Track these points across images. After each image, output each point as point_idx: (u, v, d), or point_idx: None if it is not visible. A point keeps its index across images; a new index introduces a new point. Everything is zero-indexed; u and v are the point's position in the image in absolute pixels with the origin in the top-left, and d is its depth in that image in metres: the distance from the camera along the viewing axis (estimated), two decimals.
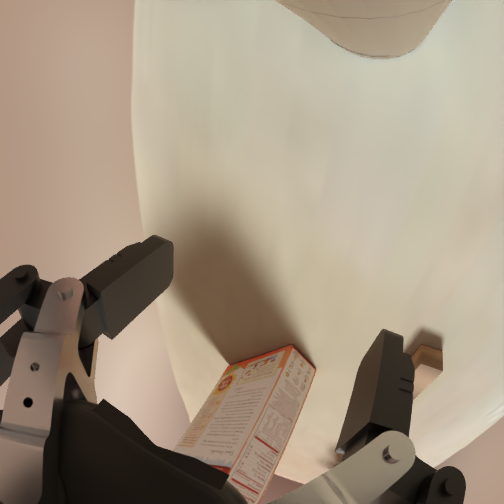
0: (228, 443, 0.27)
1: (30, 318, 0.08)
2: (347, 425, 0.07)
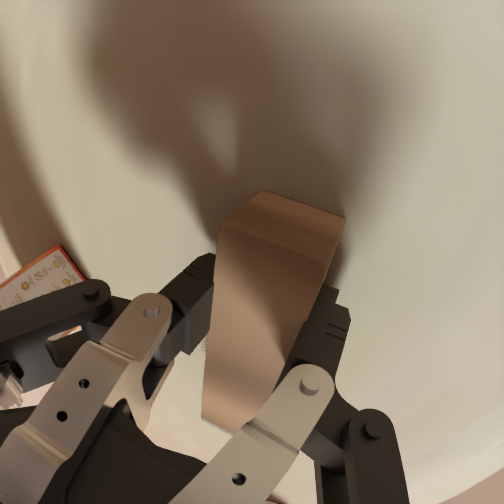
0: None
1: (89, 338, 0.08)
2: None
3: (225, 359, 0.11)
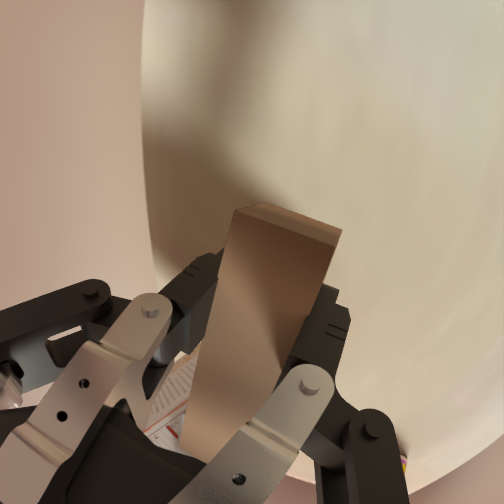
0: None
1: (90, 338, 0.08)
2: None
3: (218, 367, 0.10)
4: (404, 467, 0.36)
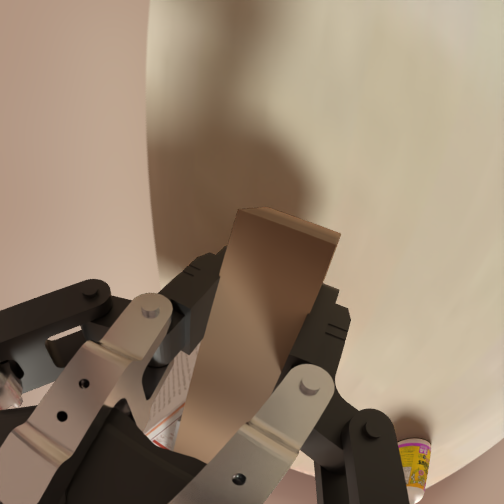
0: None
1: (89, 338, 0.08)
2: None
3: (217, 368, 0.10)
4: (429, 454, 0.32)
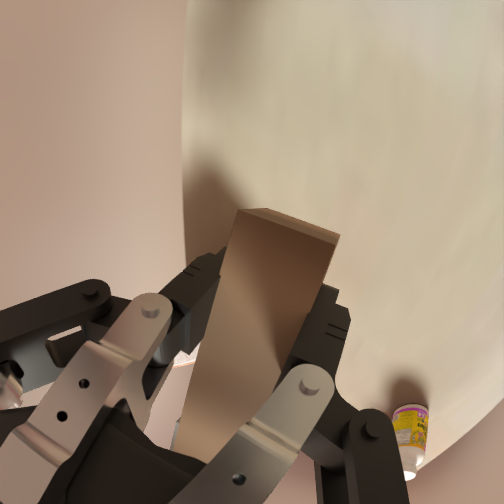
0: None
1: (90, 338, 0.08)
2: None
3: (216, 368, 0.10)
4: (427, 419, 0.38)
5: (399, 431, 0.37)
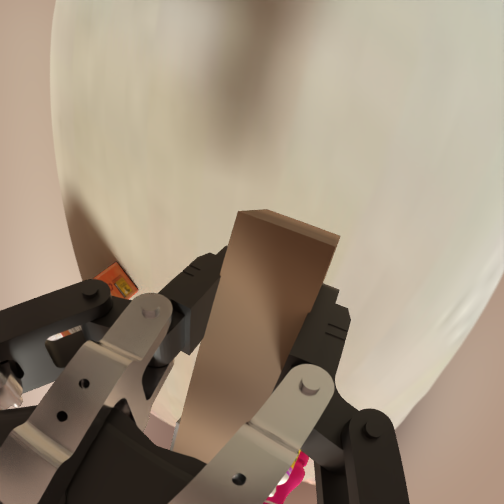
0: None
1: (90, 338, 0.08)
2: None
3: (216, 369, 0.10)
4: None
5: None
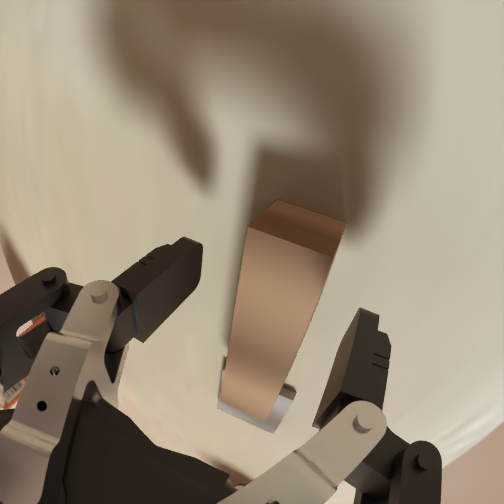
0: None
1: (54, 323, 0.08)
2: (324, 400, 0.08)
3: (247, 341, 0.13)
4: None
5: None
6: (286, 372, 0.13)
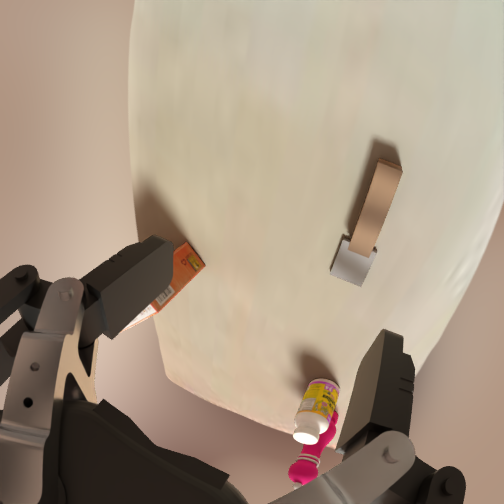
0: None
1: (30, 318, 0.08)
2: (347, 425, 0.07)
3: (370, 206, 0.34)
4: (335, 392, 0.52)
5: (306, 399, 0.51)
6: (384, 220, 0.34)
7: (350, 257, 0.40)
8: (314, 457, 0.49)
